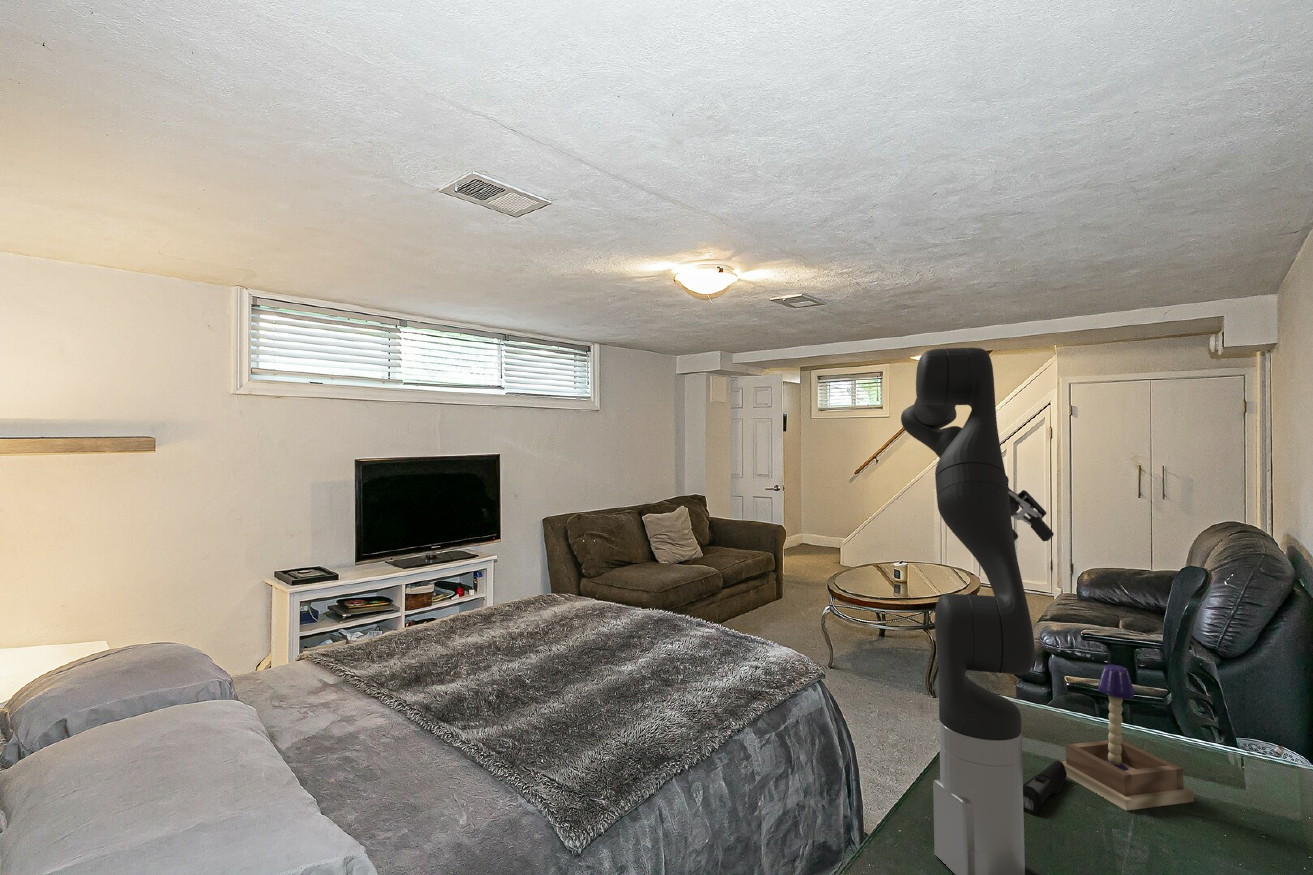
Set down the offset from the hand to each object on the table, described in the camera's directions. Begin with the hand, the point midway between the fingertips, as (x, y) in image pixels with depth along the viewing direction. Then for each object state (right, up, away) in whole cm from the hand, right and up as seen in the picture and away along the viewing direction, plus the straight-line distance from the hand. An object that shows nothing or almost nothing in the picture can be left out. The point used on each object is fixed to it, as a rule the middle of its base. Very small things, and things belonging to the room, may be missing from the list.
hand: (1031, 539), depth 111 cm
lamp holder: (+7, -36, -12) cm, 39 cm away
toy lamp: (+6, -35, -12) cm, 37 cm away
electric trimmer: (-7, -37, -14) cm, 40 cm away
